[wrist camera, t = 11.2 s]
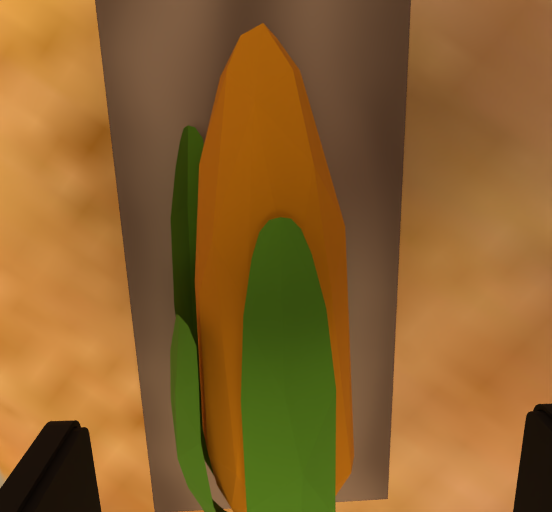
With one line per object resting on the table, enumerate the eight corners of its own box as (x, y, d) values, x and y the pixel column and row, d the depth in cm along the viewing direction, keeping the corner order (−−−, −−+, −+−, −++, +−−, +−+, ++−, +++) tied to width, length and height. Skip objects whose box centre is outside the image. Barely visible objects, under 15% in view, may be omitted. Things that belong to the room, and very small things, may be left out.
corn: (182, 635, 17) (94, -3, 11) (192, 479, 24) (141, 44, 19) (388, 602, 18) (403, -10, 12) (338, 461, 25) (332, 38, 19)
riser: (383, 6, 22) (411, -16, 19) (369, 448, 29) (387, 498, 25) (121, 11, 22) (93, -11, 18) (167, 459, 29) (154, 512, 25)
